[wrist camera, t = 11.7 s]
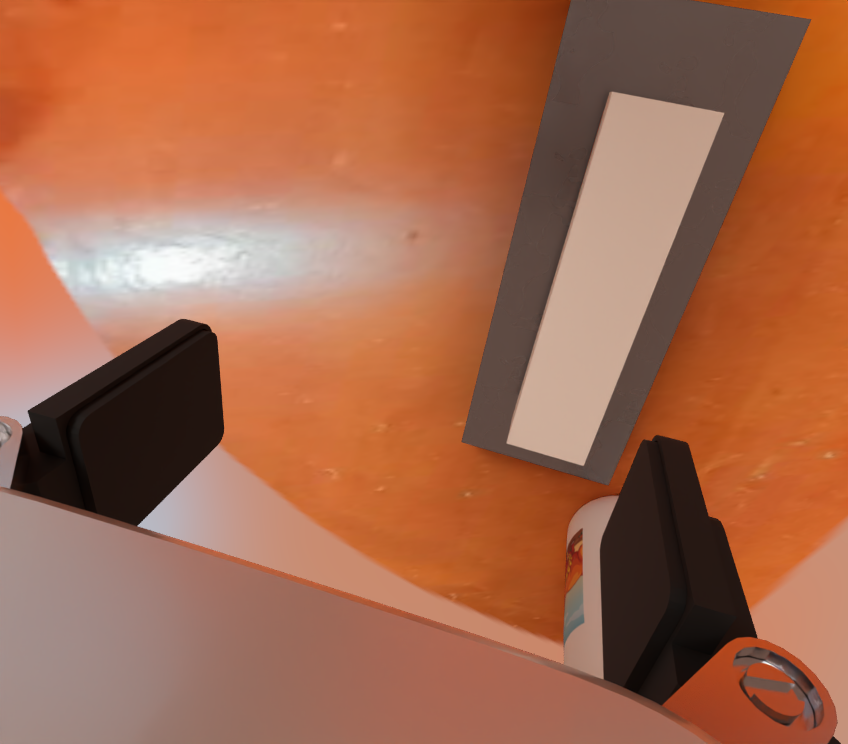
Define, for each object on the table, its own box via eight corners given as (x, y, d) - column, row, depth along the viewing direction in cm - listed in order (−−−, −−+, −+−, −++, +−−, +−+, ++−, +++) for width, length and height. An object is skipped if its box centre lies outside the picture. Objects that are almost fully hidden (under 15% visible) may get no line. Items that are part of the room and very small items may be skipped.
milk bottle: (603, 473, 39) (619, 777, 21) (700, 525, 38) (794, 873, 21) (548, 539, 43) (524, 840, 25) (635, 586, 42) (670, 921, 25)
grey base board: (576, -8, 27) (575, -19, 24) (788, 27, 25) (811, 19, 23) (469, 419, 40) (461, 442, 37) (606, 458, 38) (608, 485, 35)
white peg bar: (606, 92, 28) (612, 91, 22) (691, 109, 28) (724, 113, 21) (519, 383, 37) (506, 443, 31) (583, 400, 37) (583, 465, 30)
